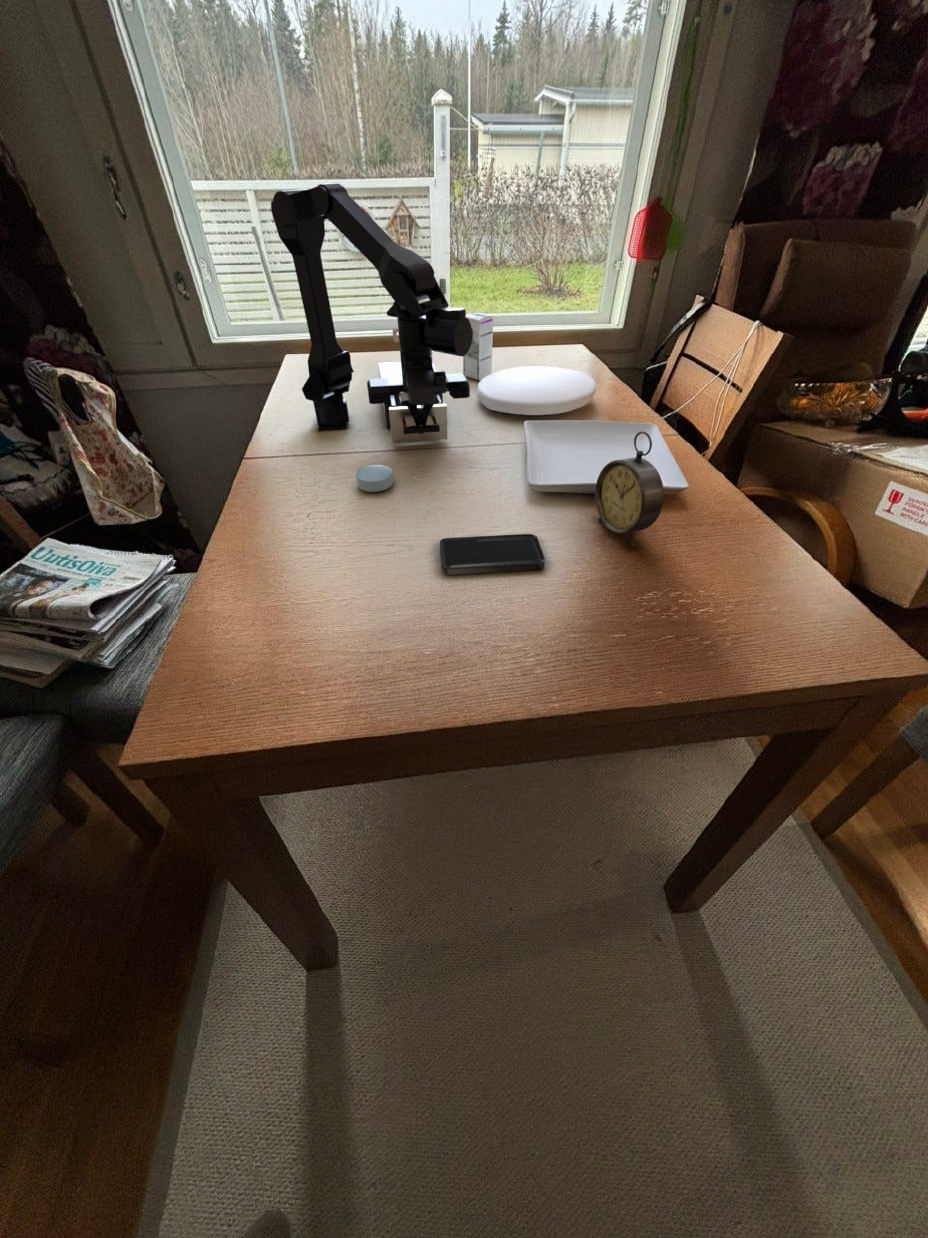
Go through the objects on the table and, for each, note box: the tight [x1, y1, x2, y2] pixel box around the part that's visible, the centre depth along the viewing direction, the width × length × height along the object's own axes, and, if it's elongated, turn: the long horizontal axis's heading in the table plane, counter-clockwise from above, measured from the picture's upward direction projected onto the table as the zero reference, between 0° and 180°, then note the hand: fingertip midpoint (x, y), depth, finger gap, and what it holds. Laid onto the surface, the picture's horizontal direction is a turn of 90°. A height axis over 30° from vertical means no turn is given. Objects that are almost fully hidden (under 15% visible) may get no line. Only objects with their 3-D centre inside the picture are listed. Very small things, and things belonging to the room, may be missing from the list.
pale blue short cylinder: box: [355, 464, 394, 493], centre depth 90 cm, size 6×6×3 cm
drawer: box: [389, 395, 449, 444], centre depth 105 cm, size 20×11×7 cm, turn 10°
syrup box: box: [462, 312, 494, 382], centre depth 130 cm, size 6×6×14 cm
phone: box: [439, 533, 546, 576], centre depth 75 cm, size 8×1×15 cm
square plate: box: [523, 419, 690, 496], centre depth 95 cm, size 27×27×4 cm
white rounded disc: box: [476, 365, 597, 416], centre depth 120 cm, size 28×6×27 cm
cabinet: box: [377, 360, 444, 429], centre depth 114 cm, size 17×13×9 cm
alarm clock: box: [594, 431, 665, 549], centre depth 75 cm, size 11×5×16 cm, turn 24°
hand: (421, 433), depth 100 cm, fingers closed, pressing on drawer
